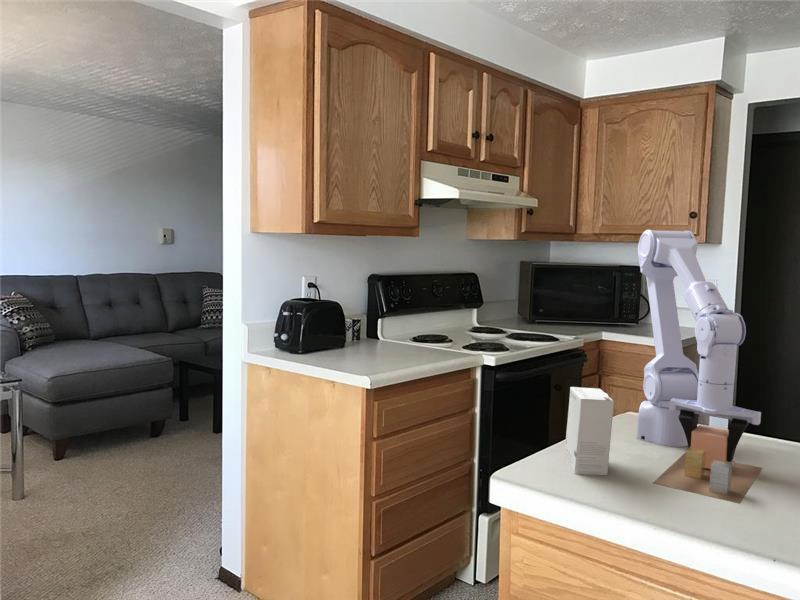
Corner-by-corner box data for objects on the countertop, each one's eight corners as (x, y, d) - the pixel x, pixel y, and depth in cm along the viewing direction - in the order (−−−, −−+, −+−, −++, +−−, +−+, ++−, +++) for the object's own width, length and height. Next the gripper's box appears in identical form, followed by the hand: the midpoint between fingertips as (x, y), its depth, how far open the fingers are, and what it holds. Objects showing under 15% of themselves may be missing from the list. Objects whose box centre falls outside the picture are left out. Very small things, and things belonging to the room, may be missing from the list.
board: (651, 491, 110) (652, 482, 110) (685, 460, 127) (685, 452, 127) (738, 512, 102) (739, 503, 102) (761, 475, 119) (762, 467, 119)
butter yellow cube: (684, 475, 114) (686, 450, 113) (688, 471, 116) (689, 446, 115) (700, 479, 112) (702, 453, 112) (704, 475, 114) (706, 449, 114)
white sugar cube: (709, 491, 107) (711, 464, 106) (712, 486, 109) (714, 460, 109) (726, 495, 105) (728, 467, 105) (730, 490, 107) (732, 463, 107)
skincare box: (563, 466, 122) (567, 386, 120) (596, 467, 122) (600, 386, 120) (574, 483, 113) (579, 397, 112) (610, 484, 113) (615, 398, 112)
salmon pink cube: (689, 464, 119) (691, 431, 118) (697, 456, 123) (699, 424, 122) (723, 471, 115) (726, 438, 115) (730, 463, 120) (732, 430, 119)
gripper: (666, 378, 119) (662, 453, 120) (758, 391, 110) (751, 471, 111) (677, 372, 124) (672, 443, 126) (765, 384, 116) (759, 461, 117)
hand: (710, 456), depth 119 cm, fingers closed on salmon pink cube, 6 cm apart
